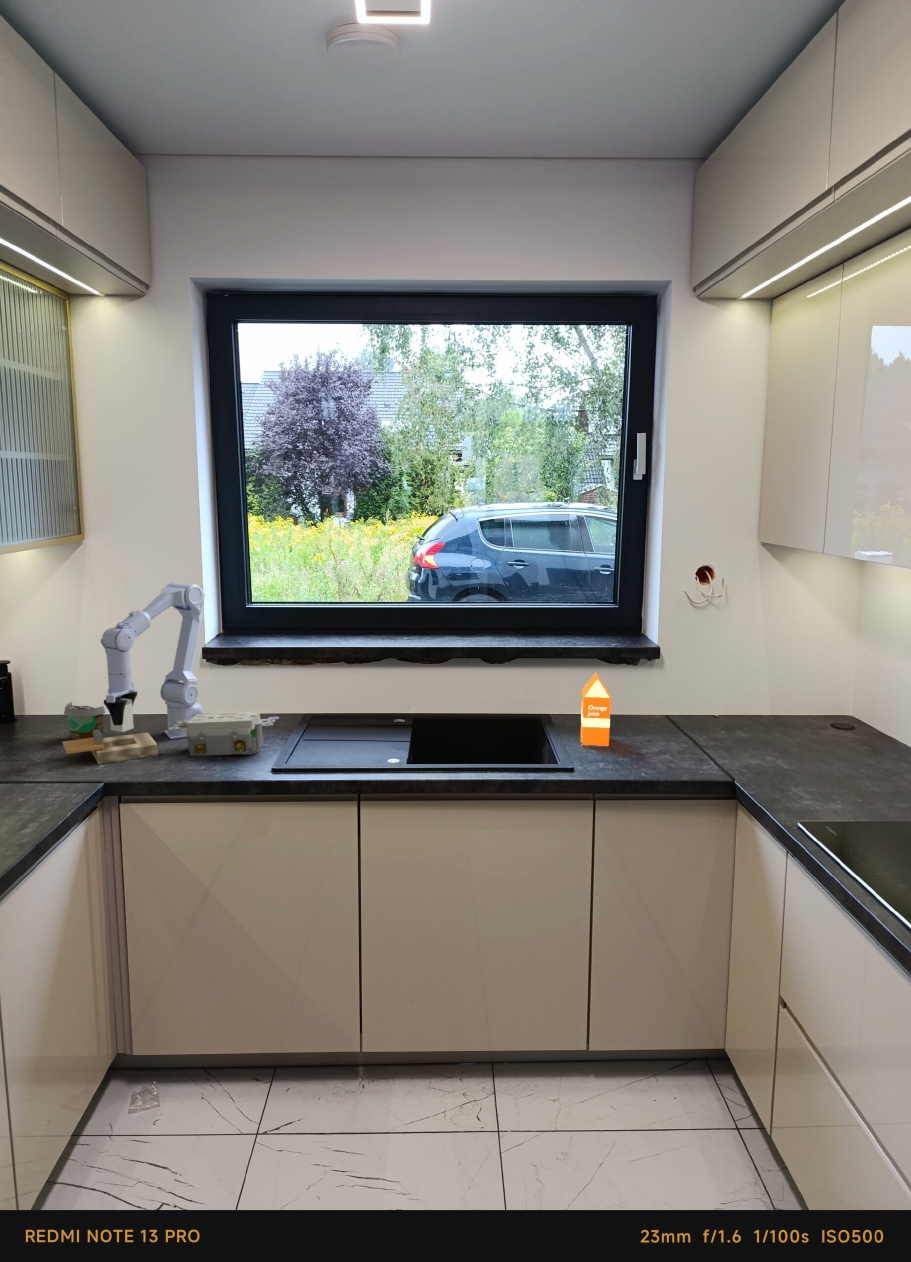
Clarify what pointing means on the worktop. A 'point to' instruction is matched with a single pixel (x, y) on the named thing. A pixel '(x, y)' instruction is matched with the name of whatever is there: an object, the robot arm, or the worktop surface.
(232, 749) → the electrical outlet
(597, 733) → the orange juice
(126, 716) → the grey upright block
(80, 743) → the shutter
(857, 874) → the worktop surface
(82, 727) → the food container
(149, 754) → the socket block
